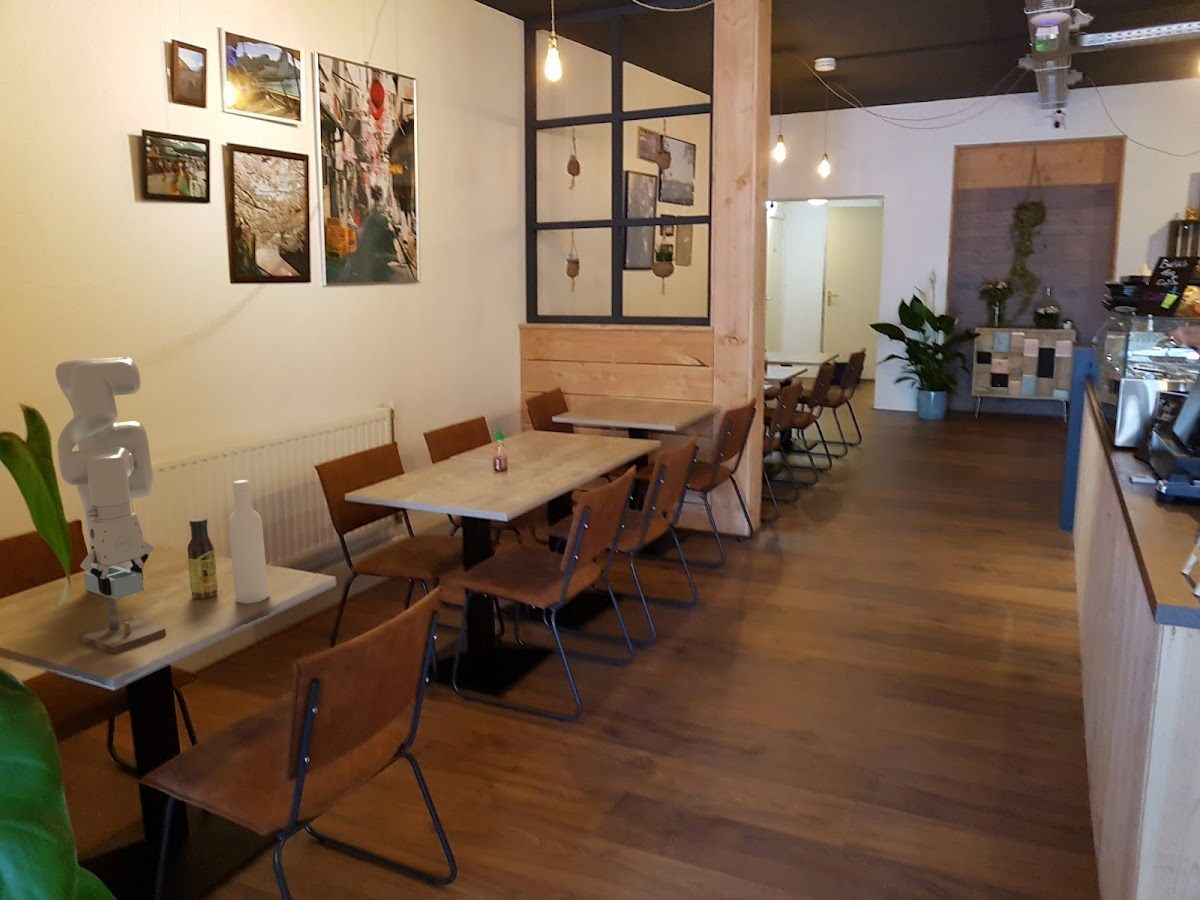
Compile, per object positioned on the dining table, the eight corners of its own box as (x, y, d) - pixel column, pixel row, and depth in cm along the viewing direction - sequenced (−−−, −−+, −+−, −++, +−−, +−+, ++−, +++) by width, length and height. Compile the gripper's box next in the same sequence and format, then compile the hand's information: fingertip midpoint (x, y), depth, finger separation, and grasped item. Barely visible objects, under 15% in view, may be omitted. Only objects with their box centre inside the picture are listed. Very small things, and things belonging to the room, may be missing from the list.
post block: (79, 640, 204) (74, 604, 203) (131, 622, 214) (126, 588, 212) (113, 653, 197) (108, 616, 195) (166, 634, 207) (161, 599, 205)
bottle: (243, 592, 233) (232, 477, 227) (274, 592, 232) (263, 477, 226) (230, 604, 225) (217, 485, 219) (261, 603, 225) (250, 485, 219)
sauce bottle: (208, 600, 227) (200, 523, 223) (186, 599, 228) (177, 522, 225) (224, 591, 234) (216, 516, 230) (202, 590, 235) (194, 515, 231)
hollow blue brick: (85, 589, 204) (83, 572, 203) (114, 581, 209) (111, 564, 209) (115, 599, 198) (113, 581, 197) (143, 590, 203) (141, 573, 202)
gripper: (80, 522, 189) (92, 605, 193) (159, 504, 203) (168, 581, 207) (62, 518, 193) (73, 598, 197) (140, 500, 207) (149, 575, 211)
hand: (122, 588), depth 202 cm, fingers closed on hollow blue brick, 6 cm apart
